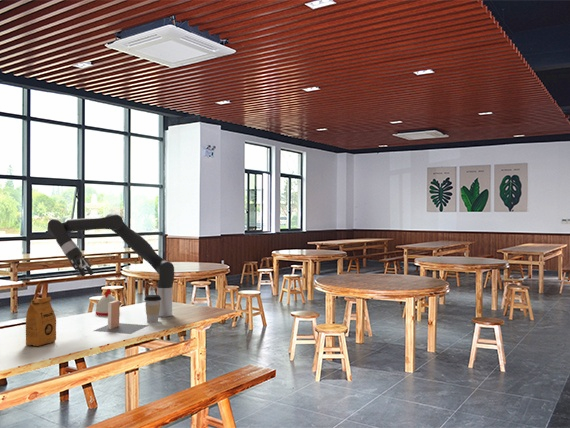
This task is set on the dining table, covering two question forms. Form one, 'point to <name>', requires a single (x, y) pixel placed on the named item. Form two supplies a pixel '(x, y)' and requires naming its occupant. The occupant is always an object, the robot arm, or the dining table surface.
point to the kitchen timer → (104, 304)
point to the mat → (122, 328)
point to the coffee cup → (152, 307)
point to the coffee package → (40, 323)
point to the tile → (113, 314)
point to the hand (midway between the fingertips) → (88, 274)
